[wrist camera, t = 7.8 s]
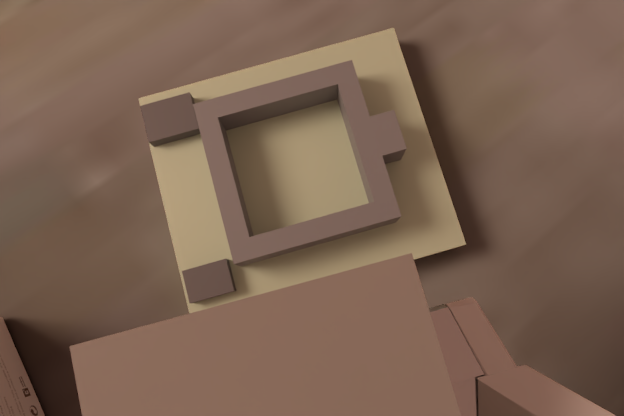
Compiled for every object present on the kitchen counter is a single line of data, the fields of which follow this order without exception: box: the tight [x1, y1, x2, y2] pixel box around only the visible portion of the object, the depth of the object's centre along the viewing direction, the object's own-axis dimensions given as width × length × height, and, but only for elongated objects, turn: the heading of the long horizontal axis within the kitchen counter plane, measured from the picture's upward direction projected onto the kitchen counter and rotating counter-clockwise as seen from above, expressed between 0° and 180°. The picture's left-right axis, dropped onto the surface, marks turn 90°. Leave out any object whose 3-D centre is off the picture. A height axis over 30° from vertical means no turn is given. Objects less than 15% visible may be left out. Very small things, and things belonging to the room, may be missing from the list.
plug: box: [69, 253, 461, 416], centre depth 10 cm, size 4×4×9 cm
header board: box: [139, 28, 466, 314], centre depth 26 cm, size 14×12×4 cm
